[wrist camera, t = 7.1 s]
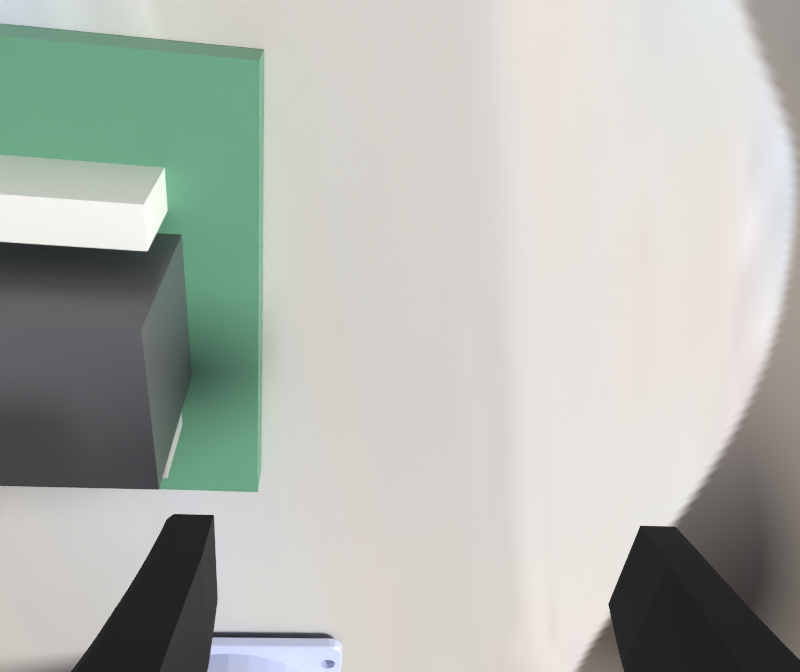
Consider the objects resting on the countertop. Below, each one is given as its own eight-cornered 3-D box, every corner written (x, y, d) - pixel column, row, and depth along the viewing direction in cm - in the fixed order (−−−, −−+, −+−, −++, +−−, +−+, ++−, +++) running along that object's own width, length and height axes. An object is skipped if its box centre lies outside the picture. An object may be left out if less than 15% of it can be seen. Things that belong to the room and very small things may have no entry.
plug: (191, 376, 19) (157, 493, 15) (-15, 368, 18) (-97, 486, 15) (181, 234, 17) (140, 333, 13) (-52, 220, 16) (-159, 319, 13)
